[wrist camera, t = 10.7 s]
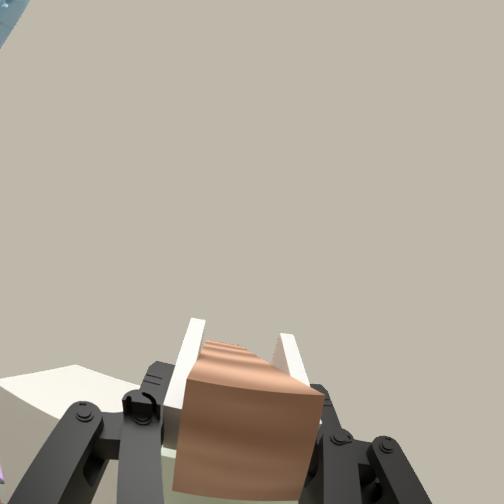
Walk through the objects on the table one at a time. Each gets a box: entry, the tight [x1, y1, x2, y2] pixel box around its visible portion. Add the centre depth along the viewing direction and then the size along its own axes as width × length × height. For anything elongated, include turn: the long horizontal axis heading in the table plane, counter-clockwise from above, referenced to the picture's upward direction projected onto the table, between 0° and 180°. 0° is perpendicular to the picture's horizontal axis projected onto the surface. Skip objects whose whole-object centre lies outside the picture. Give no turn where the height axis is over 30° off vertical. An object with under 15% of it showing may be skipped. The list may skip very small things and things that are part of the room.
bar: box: [172, 340, 325, 501], centre depth 19 cm, size 26×4×4 cm, turn 7°
